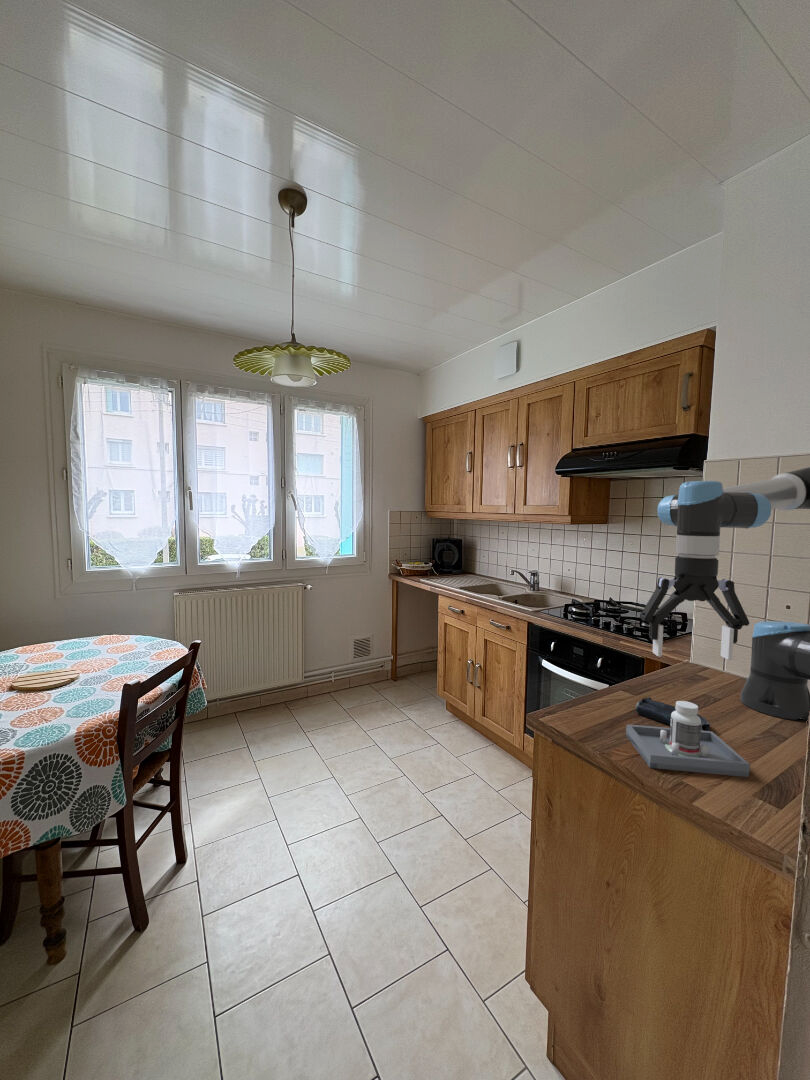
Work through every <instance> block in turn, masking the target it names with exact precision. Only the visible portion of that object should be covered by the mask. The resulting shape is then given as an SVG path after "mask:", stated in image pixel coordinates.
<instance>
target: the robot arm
mask: <svg viewBox="0 0 810 1080" xmlns="http://www.w3.org/2000/svg"><path fill="white" fill-rule="evenodd" d="M776 509H777V510H780V511H791V510H793V511H794V510H800V509H801V510H810V466H809V467H805V468H800V469H797V470H791V471H788V472H784V473H778V474H776V475H774V476H773V477H771V478H770V479H767V480H760V481H755V482H750V483H749V482H748V483H744V484H738V485H732V486H726V487H723V484H722V482H720V481H719V480H718V481H716V480H696V481H686V482H683V483H681V485H680V486H679V489H678V494H674V495H667V496H665V497H663V498H662V499H661V500H660V502H659V503H658V505H657V516H658V520H660V522H661V523H663V524H664V525H667V526H674V527H676V538H675V540H676V542H675V553H676V554H678V555H676V557H675V558H674V576H673V577H674V578H673V579H668V578H666V577H665V578H664V577H661V576H660V577H658V579H657V584H656V588H655V589H654V591H653V593H652V595H651V597H650V598H649V600H648V602H647V603H646V604H645V607H644V608H643V610H642V612H641V613H640V614H639V618H640V619H641V620H643V621H645V622H647V623H648V624H649V625H648V627H649V628H648V629H649V630H648V636H649V639H651V640H652V653H653V654H654V655H655V656H657V657H659V658H661V657H663V643H664V640H663V639H664V625H663V624H661V623H662V622H663V621H664V620H665V619H667V617H668V616H669V615H670V614H671V613H672V612H673V611H674V610H675V609H676V608H677V607H678V606H679V605H680V604H681V603H683V602H684V601H688V602H694V601H695V602H696V601H699V602H705V601H706V602H707V603H709V605H710V606H711V608H712V609H713V610H714V611H715V612H716V613H717V614H718V616H719V617H720V618H721V619H722V621H723V622H725V624H726V625H721V639H720V640H721V641H720V657H723V659H726V660H727V661H733V654H734V653H733V652H734V644H737V643H738V638H739V637H738V635H739V630H741V629H742V628H743V627H744V626H745V627H746V626H749V625H750V620H749V619H748V616H747V614H746V612H745V609H744V607H743V606H742V603H741V602H740V599H739V598H738V596H737V594H736V591H735V589H736V588H735V582H734V581H732V580H729V579H726V578H724V579H721V580H718V574H719V559H718V558H717V556H719V555H720V541H721V536H720V535H721V528H724V529H725V528H731V529H734V528H735V529H736V528H737V529H750V528H757V527H761V526H763V525H764V524H765V523H767V522H768V521H769V519H770V517H771V515H772V510H776ZM672 587H674V589H675V590H674V591H673V592H672V593H671V594H670V596H669V597H668V599H666V601H664V603H663V604H661V603H662V601H663V600H664V598H665V597H666V595H667V593H668V591H669V590H670V589H671V588H672ZM718 589H719V590H720V591H721V593H722V595H723V597H724V599H725V601H726V603H727V605H728V607H729V610H730V611H729V610H728V609H727V608H726V606H725V605H724V604H723V603H722V602H721V600H720V598H719V597H718V596H717V595H716V594H715V592H716V590H718ZM660 605H661V606H660ZM752 631H753V632H752V636H751V638H752V639H751V655H750V656H751V659H750V672H749V676H748V677H747V679H746V681H745V683H744V685H743V687H742V689H741V690H740V698H739V700H740V702H741V703H742V704H743V705H745V706H746V707H748V708H750V709H751V710H754V711H756V712H759V713H762V714H764V715H769V716H772V717H778V718H781V719H787V720H794V721H798V720H797V719H800V718H801V719H803V720H802V721H809V720H808V716H809V711H810V689H809V687H808V686H809V685H808V683H809V681H810V624H807V623H802V622H795V621H794V622H790V621H770V620H769V621H758V622H757V623H755V624H754V626H753V630H752ZM805 719H806V720H805Z"/></svg>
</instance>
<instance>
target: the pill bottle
mask: <svg viewBox="0 0 810 1080" xmlns="http://www.w3.org/2000/svg"><path fill="white" fill-rule="evenodd" d="M674 706H675V709H676V711H673V712H672V713H671V724H670V725H669V728H670V747H671V748H672V743H673V742H675V743H678V744H679V753H681V754H684V755H688V756H696V755H698V754H699V750H700V735H701V719H700V718H699V717H698V716H697V714H698V715H699V706H698V705H697V704H695V703H694V702H690V701H686V700H677V701H675V705H674Z"/></svg>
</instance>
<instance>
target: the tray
mask: <svg viewBox="0 0 810 1080" xmlns="http://www.w3.org/2000/svg"><path fill="white" fill-rule="evenodd" d="M625 729H626V730H625V737H626V738H627V739H628V741H629V742H630V743H631V744H632V746H633V747H634V748H635V750H636V751H637V753H638V754H639V755H640V756H641V758H642V759H643V760H644V762H645V763H646V764H647V766H648V767H649V768H650V769H657V770H658V769H659V770H669V771H670V770H671V771H679V772H680V771H682V772H690V773H701V774H713V775H721V776H731V777H732V776H733V777H743V778H750V768H751V764H750V763H749V762H748V761H747V760H746V759H744V757H742V755H740V754H739V753H737V751H735V750H734V749H733V748H732V747H731V746H730V745H728V744H727V743H726V742H725V741H724V740H723V739H722V738H720V737H719V736H718V735H717V734H716V733H715V732H714V731H710V730H709V731H706V730H703V731H701V735H700V750H699V754H698V755H696V756H688V755H684V754H681V753H679V744H678V743H675V742H673V743H672V748H671V747H670V727H661V726H652V725H651V726H650V725H649V726H648V725H637V724H626V728H625Z"/></svg>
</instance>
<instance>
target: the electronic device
mask: <svg viewBox="0 0 810 1080" xmlns="http://www.w3.org/2000/svg"><path fill="white" fill-rule="evenodd" d="M675 706H676V705H671V704H667V703H664V702H660V701H657V700H653V699H652V698H651V697H650V696H647V697H643V698H641V700H639V701H638V702H636V705H635V708H634V711H636V713H637V714H638V715H641V716H645V717H646V718H649V719H652V720H654V721H658V722H660V723H663V724H666V725H669V726H670V724H671V713H672V712H673V711H676V709H675ZM697 716H698V717H699V718H700V719H701V731H704V729H705V731H710V727H711V725H710V722H709V721H708V720H707V719H706V718H705V717H703V716H702V715H700V714H699V713H698V714H697ZM703 728H704V729H703Z"/></svg>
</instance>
